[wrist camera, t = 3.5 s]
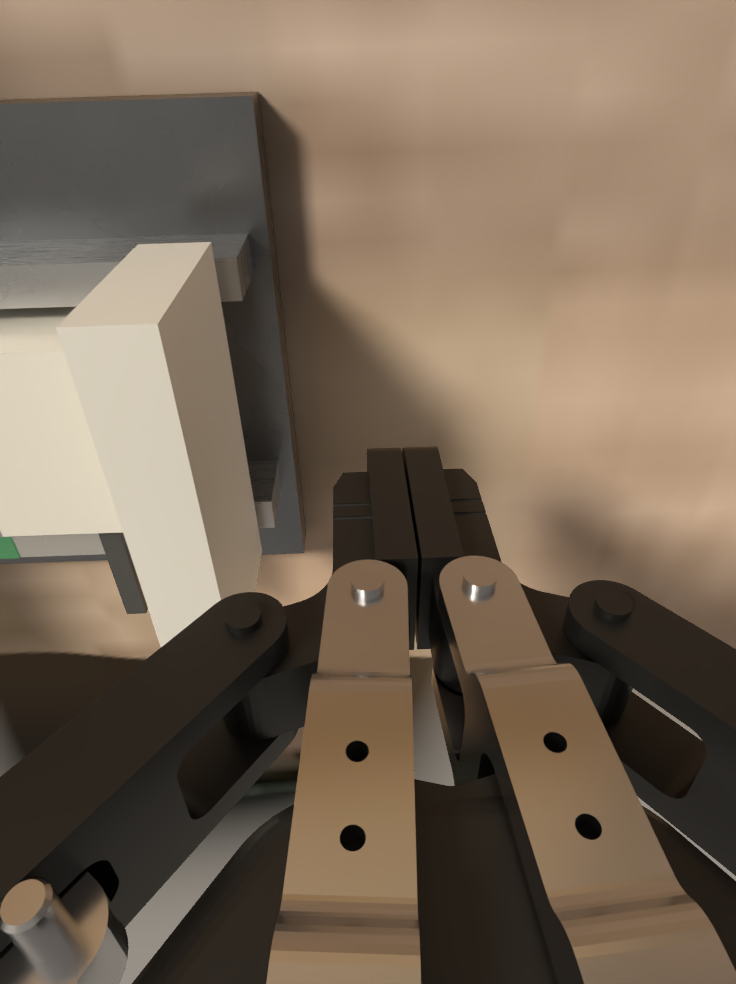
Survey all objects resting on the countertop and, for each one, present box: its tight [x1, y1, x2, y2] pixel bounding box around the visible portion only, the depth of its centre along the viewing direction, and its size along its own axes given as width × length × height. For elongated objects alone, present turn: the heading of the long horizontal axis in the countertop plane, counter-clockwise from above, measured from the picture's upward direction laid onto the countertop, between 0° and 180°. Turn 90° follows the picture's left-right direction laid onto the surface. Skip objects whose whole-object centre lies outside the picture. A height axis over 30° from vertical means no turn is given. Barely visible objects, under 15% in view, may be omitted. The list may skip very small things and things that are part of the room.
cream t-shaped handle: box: [0, 242, 262, 647], centre depth 16 cm, size 7×11×7 cm, turn 1°
